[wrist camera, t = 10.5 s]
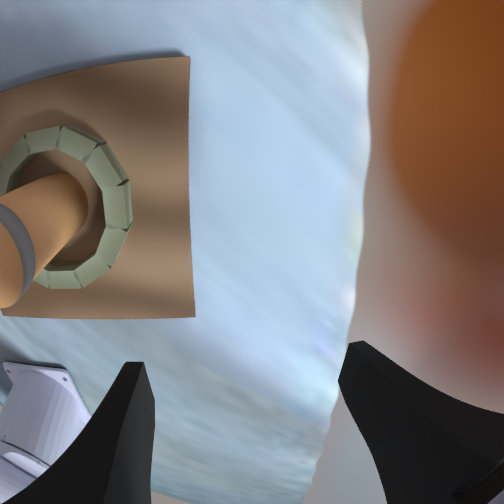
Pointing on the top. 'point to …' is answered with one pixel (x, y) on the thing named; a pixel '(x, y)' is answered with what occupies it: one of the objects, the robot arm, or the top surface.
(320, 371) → the top surface
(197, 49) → the top surface
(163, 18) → the top surface
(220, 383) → the top surface
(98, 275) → the dock socket
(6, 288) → the peg
